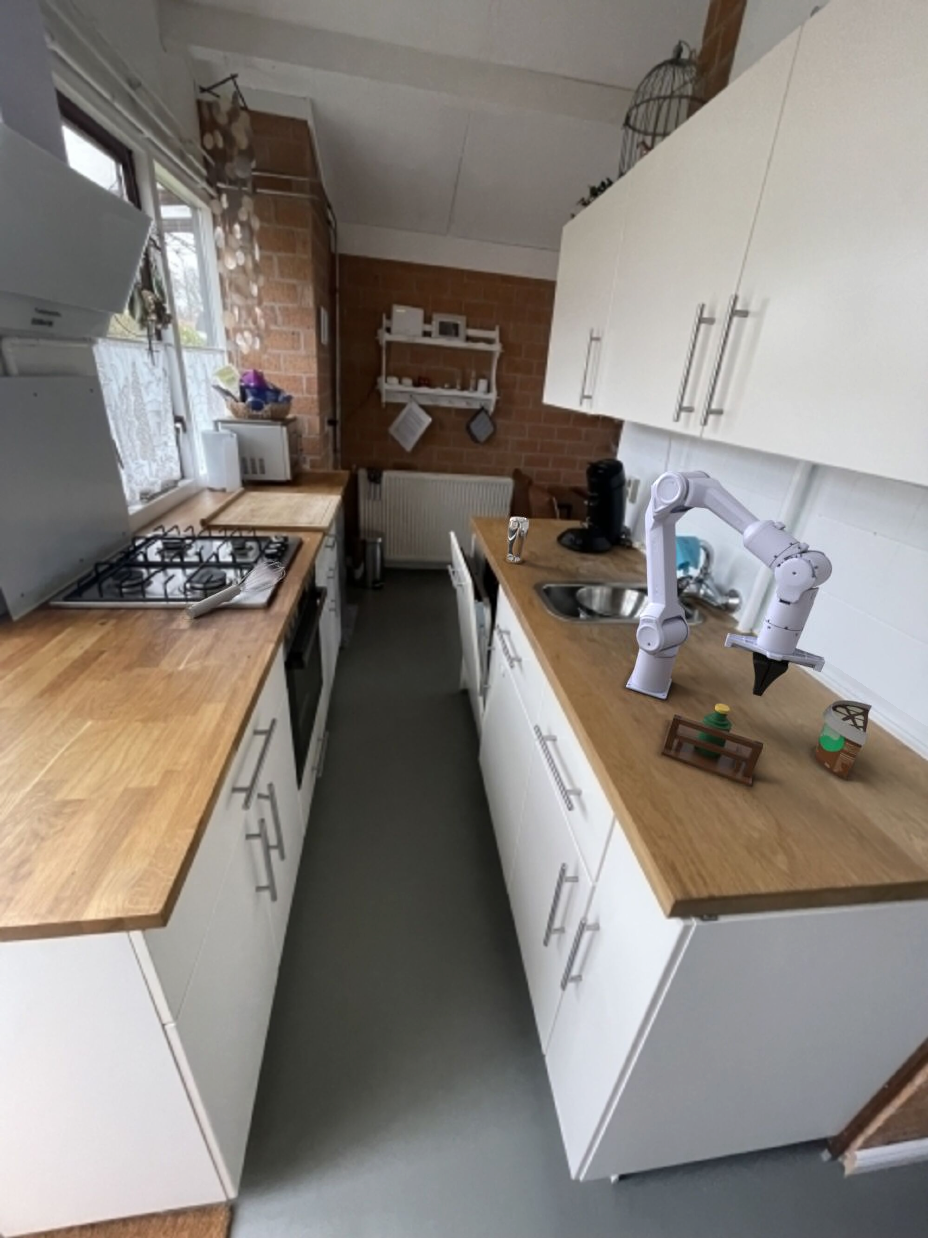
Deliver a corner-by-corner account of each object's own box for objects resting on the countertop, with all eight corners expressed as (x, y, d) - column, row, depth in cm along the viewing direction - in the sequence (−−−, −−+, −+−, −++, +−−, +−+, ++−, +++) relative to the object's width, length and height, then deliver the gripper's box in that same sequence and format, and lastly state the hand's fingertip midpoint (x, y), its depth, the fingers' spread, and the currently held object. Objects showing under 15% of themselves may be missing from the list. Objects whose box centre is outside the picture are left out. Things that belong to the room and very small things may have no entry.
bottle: (695, 738, 92) (709, 697, 88) (722, 747, 90) (737, 705, 86) (693, 751, 88) (707, 709, 84) (720, 761, 86) (736, 718, 83)
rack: (669, 722, 97) (679, 691, 94) (751, 749, 91) (764, 717, 88) (660, 754, 88) (671, 720, 85) (750, 786, 82) (764, 752, 79)
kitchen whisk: (172, 618, 118) (168, 593, 115) (273, 577, 147) (271, 556, 144) (193, 624, 116) (189, 599, 113) (290, 581, 145) (289, 560, 142)
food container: (811, 735, 97) (831, 690, 93) (849, 750, 93) (872, 704, 89) (801, 766, 88) (823, 718, 84) (843, 784, 85) (868, 735, 80)
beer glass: (503, 562, 177) (508, 519, 171) (504, 556, 184) (510, 515, 177) (523, 565, 176) (529, 522, 170) (524, 559, 183) (530, 517, 177)
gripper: (734, 619, 84) (711, 689, 89) (838, 644, 78) (805, 718, 84) (736, 606, 90) (714, 673, 95) (832, 628, 84) (802, 698, 89)
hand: (757, 693), depth 90 cm, fingers closed
